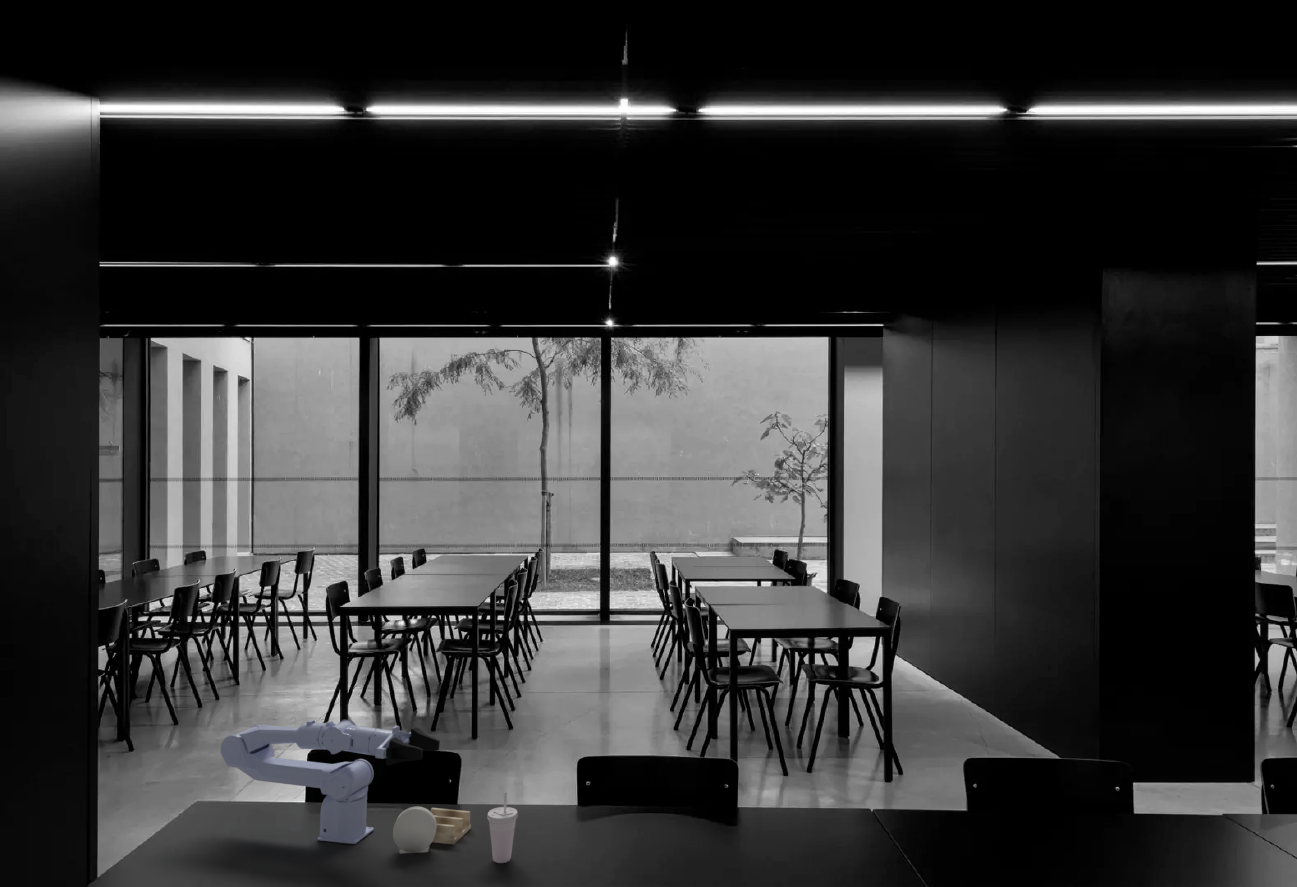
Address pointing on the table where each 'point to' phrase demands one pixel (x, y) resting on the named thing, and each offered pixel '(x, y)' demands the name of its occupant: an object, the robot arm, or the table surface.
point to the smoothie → (502, 831)
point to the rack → (450, 825)
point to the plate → (414, 830)
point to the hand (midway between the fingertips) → (430, 750)
